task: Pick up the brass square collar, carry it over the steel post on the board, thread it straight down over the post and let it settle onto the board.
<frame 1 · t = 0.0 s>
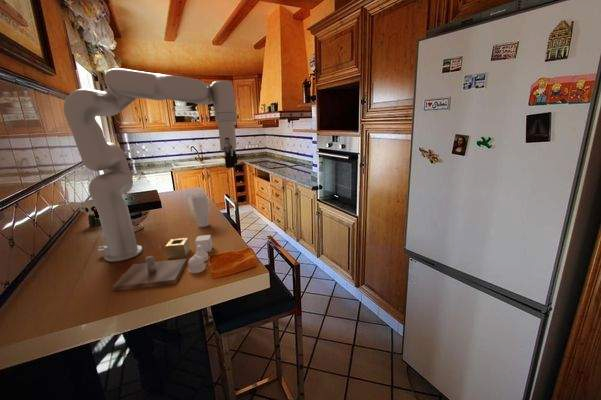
hand: (232, 165, 106), 31 cm above the breakfast bar, tool pointing down, fingers open, 9 cm apart
post board: (153, 275, 92), on the breakfast bar
container set: (201, 260, 102), on the breakfast bar
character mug: (97, 225, 147), on the breakfast bar
drinking glass: (203, 226, 136), on the breakfast bar
brass collar: (179, 253, 107), on the breakfast bar
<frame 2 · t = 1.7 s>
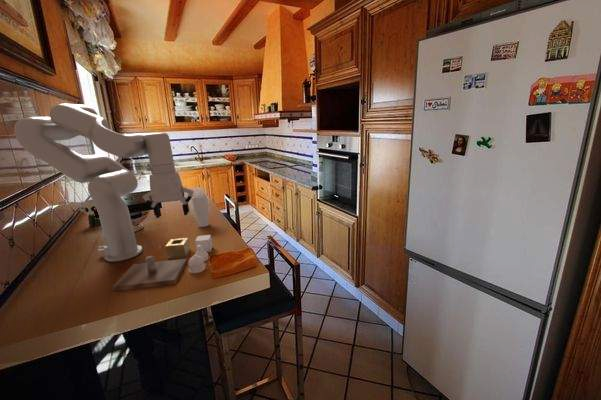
hand: (172, 215, 103), 15 cm above the breakfast bar, tool pointing down, fingers open, 9 cm apart
nothing on the breakfast bar moved.
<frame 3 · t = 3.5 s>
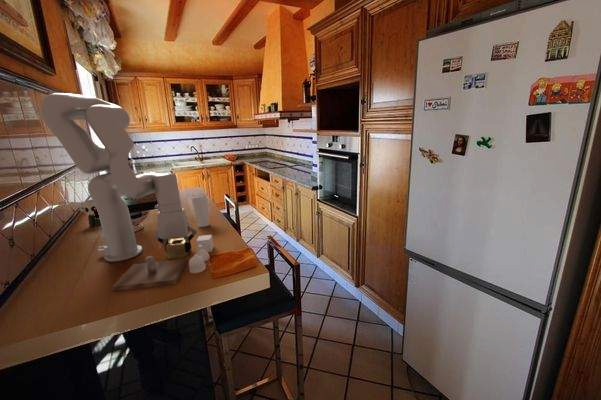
hand: (179, 251, 107), 1 cm above the breakfast bar, tool pointing down, fingers closed on brass collar, 6 cm apart
brass collar: (179, 253, 107), on the breakfast bar, touching gripper
everything else where it was.
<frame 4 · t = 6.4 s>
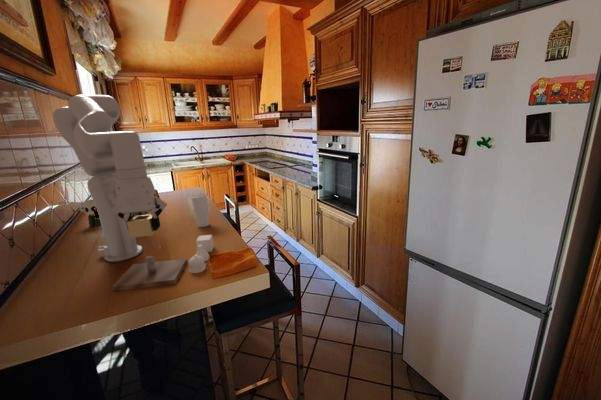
hand: (145, 230, 88), 16 cm above the breakfast bar, tool pointing down, fingers closed on brass collar, 6 cm apart
brass collar: (145, 232, 89), point 15 cm above the breakfast bar, touching gripper
everything else where it was.
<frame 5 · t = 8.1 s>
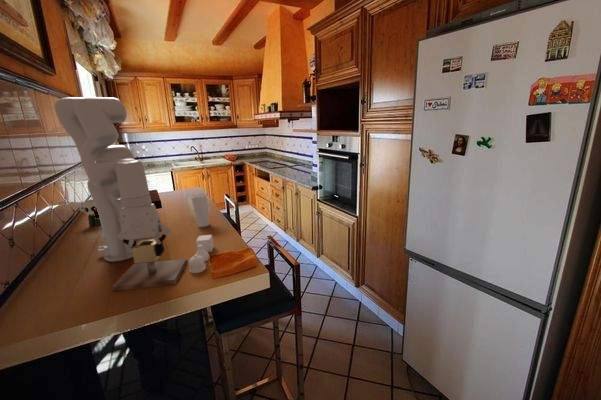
hand: (149, 255, 90), 7 cm above the breakfast bar, tool pointing down, fingers closed on brass collar, 6 cm apart
brass collar: (149, 257, 90), point 7 cm above the breakfast bar, touching gripper
everything else where it was.
when the fingers open (3 cm above the breakfast bar, at t = 9.4 s): brass collar stays where it is, resting on post board.
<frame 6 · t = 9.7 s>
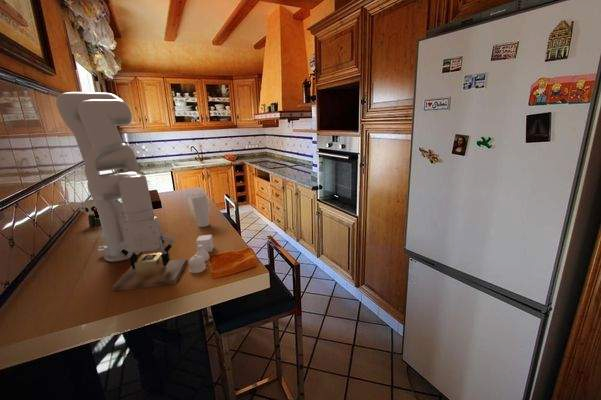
hand: (151, 265, 91), 4 cm above the breakfast bar, tool pointing down, fingers open, 9 cm apart
brass collar: (152, 271, 92), point 1 cm above the breakfast bar, touching post board
everything else where it was.
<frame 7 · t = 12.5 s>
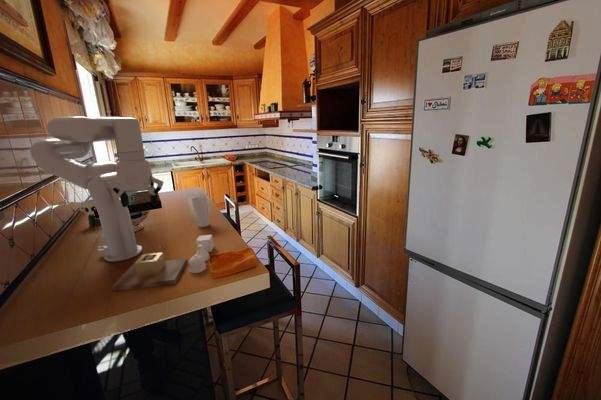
hand: (140, 205, 98), 21 cm above the breakfast bar, tool pointing down, fingers open, 9 cm apart
nothing on the breakfast bar moved.
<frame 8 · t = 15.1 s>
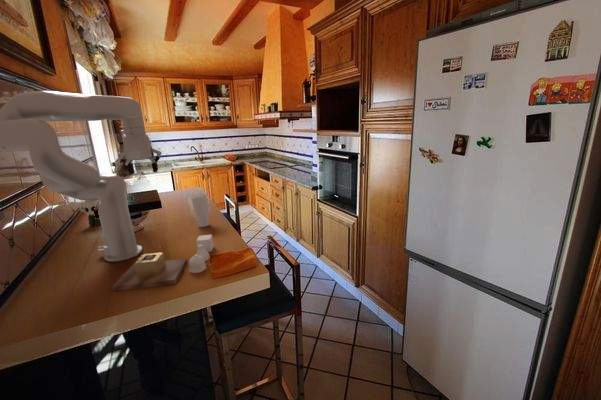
hand: (143, 172, 122), 28 cm above the breakfast bar, tool pointing down, fingers open, 9 cm apart
nothing on the breakfast bar moved.
at the end: brass collar 0.1 cm from the post board (horizontally); brass collar point 1.5 cm above the breakfast bar; the gripper is holding nothing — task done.
